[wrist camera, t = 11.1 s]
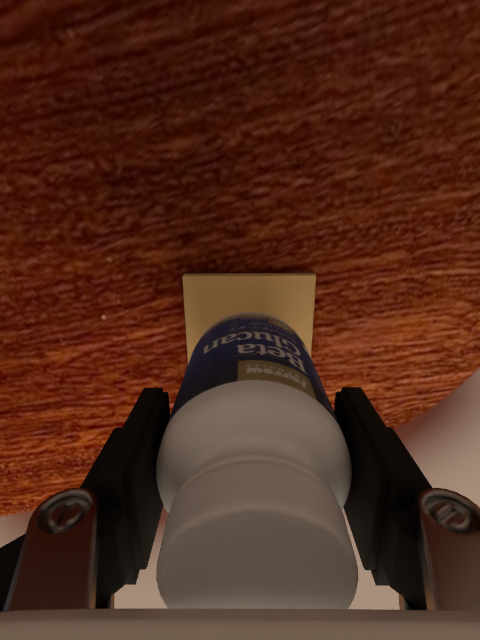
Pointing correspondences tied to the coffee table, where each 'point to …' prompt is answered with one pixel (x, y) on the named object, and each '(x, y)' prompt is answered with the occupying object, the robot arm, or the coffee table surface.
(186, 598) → the pill bottle
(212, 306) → the mat
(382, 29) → the coffee table surface
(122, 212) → the coffee table surface
